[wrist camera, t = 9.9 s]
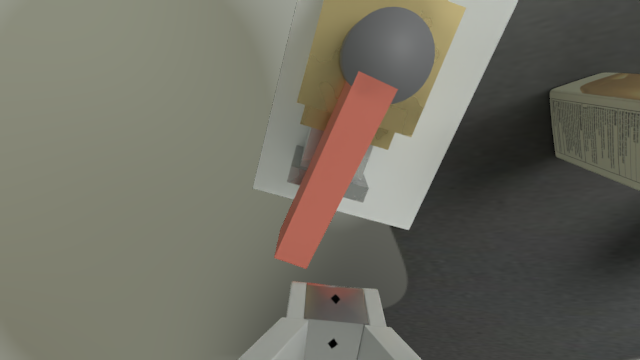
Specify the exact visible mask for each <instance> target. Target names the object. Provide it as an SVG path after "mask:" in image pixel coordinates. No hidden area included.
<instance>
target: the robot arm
mask: <svg viewBox="0 0 640 360" xmlns="http://www.w3.org/2000/svg"><path fill="white" fill-rule="evenodd" d="M238 360H422V359H421V358H420V357H419V356H418V355H417V354H416V353H415V352H414V351H413V350H412V349H411V348H410V347H409V346H408V345H407V344H406V343H405V342H404V341H403V340H402V339H401V337H400V336H399V335H398V334H397V333H396V332H395V331H394V330H393V329H392V328H391V327H386V322H385V318H384V314H383V309H382V305H381V301H380V296H379V292H378V290H377V289H368V288H354V287H342V286H332V285H324V284H315V283H307V285H306V283H305V282H296V281H292V283H291V288H290V295H289V302H288V308H287V315H286V318H284V317H282V318H281V319H280V320H278V321H277V322H276V323H275V324H274V325H273V326H272V327H271V328H270V329H269V330H268V331H267V332H266V333H265V334H264V335H263V336H262V337H261V338H260V339H259V340H258V341H256V342H255V343H254V344H253V345H252V346H251V347H250V348H249V349H248V350H247V351H246V352H245V353H244V354H243V355H242V356H241V357H240V358H239V359H238Z"/></svg>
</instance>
